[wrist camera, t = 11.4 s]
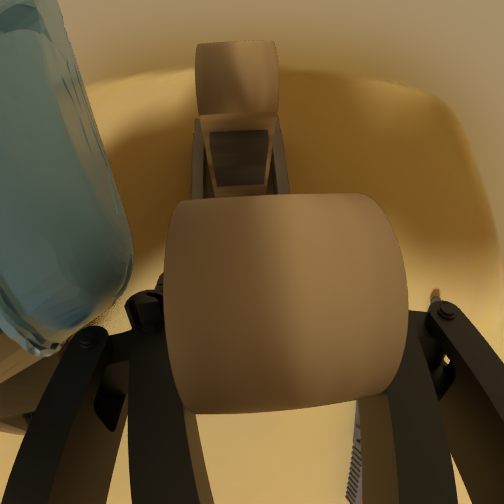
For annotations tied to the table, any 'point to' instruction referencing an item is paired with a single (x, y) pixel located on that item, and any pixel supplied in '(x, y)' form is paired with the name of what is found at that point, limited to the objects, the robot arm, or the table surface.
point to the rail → (237, 122)
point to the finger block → (282, 301)
